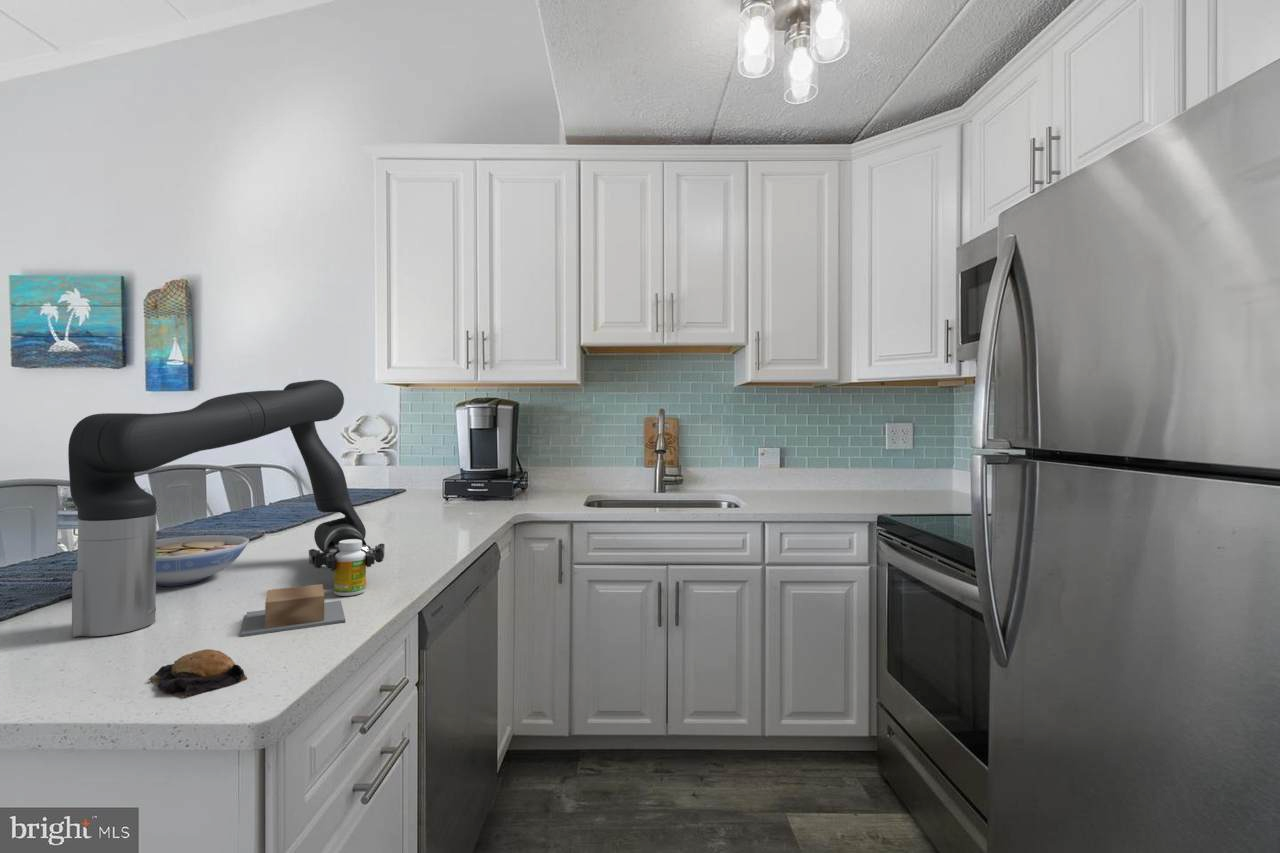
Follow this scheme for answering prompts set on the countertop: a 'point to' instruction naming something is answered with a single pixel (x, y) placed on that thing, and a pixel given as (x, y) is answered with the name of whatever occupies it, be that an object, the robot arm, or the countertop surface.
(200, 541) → the ramen bowl
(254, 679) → the countertop surface
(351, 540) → the supplement bottle
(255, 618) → the mat
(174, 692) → the bread roll
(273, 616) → the walnut block
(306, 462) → the robot arm
